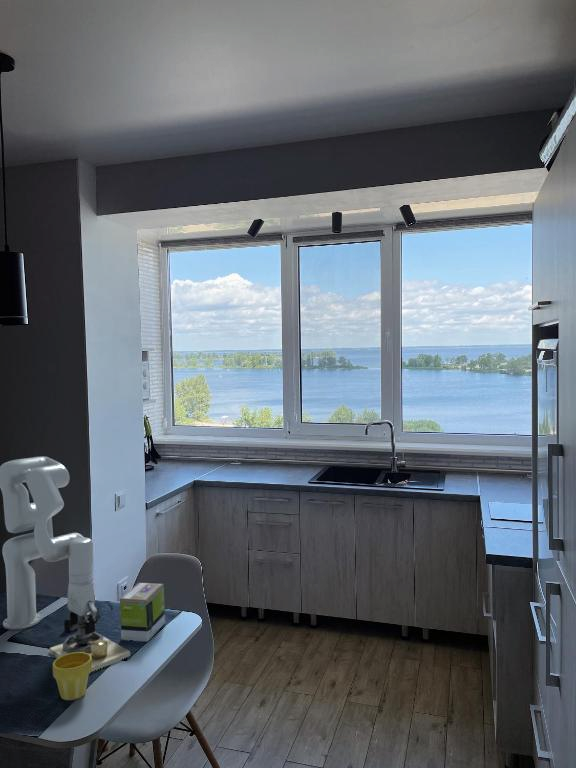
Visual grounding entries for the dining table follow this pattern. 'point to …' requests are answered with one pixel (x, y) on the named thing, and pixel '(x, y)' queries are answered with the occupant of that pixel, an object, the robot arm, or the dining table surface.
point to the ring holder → (79, 649)
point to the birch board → (113, 656)
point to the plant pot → (72, 674)
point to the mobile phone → (71, 628)
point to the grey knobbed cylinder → (81, 634)
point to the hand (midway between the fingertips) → (82, 628)
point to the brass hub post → (99, 649)
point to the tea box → (142, 611)
